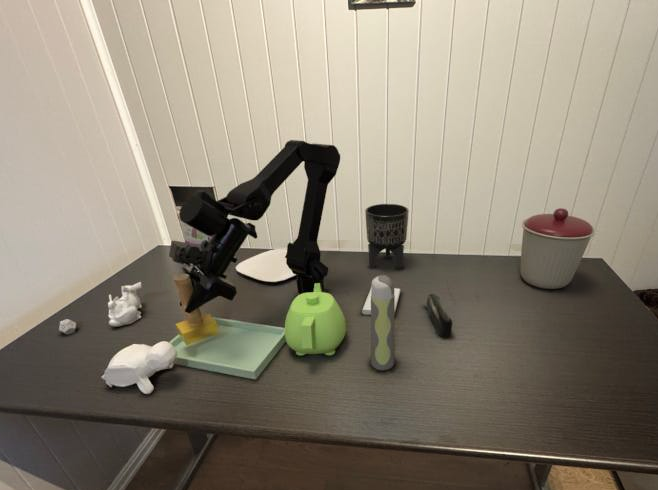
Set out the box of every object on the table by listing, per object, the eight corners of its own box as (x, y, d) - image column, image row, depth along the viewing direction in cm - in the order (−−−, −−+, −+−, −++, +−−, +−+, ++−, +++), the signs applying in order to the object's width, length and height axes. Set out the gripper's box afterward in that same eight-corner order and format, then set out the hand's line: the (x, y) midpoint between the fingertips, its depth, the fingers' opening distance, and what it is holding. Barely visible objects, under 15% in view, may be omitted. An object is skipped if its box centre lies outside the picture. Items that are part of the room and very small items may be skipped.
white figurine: (138, 304, 101) (125, 272, 96) (162, 307, 100) (151, 274, 95) (103, 329, 91) (87, 294, 86) (130, 332, 90) (115, 297, 85)
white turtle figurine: (117, 403, 74) (175, 386, 70) (85, 372, 70) (145, 352, 66) (143, 374, 81) (197, 357, 77) (116, 344, 77) (172, 325, 73)
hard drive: (400, 293, 104) (394, 317, 93) (371, 291, 105) (362, 314, 95) (400, 288, 103) (394, 311, 93) (371, 286, 104) (361, 308, 94)
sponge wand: (211, 323, 85) (195, 267, 78) (219, 333, 82) (203, 275, 75) (179, 335, 82) (159, 277, 74) (186, 345, 78) (166, 286, 71)
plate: (279, 250, 133) (278, 245, 132) (325, 264, 122) (325, 259, 121) (228, 272, 118) (226, 267, 117) (275, 290, 107) (274, 284, 106)
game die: (57, 334, 90) (51, 324, 88) (72, 326, 93) (67, 316, 91) (67, 337, 89) (61, 327, 87) (82, 329, 91) (77, 319, 90)
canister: (591, 284, 106) (615, 210, 95) (553, 303, 98) (575, 224, 87) (535, 263, 119) (551, 196, 108) (497, 278, 111) (510, 207, 100)
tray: (290, 335, 87) (289, 328, 86) (255, 379, 75) (254, 371, 74) (204, 322, 93) (201, 315, 92) (158, 361, 80) (155, 353, 79)
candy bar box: (225, 258, 127) (214, 210, 119) (215, 263, 123) (202, 214, 115) (199, 253, 131) (187, 207, 122) (189, 259, 127) (175, 211, 118)
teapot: (295, 319, 93) (289, 273, 87) (349, 319, 93) (346, 273, 87) (278, 372, 76) (268, 320, 70) (343, 371, 76) (340, 319, 70)
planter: (369, 255, 127) (368, 203, 117) (407, 257, 125) (409, 204, 116) (363, 272, 116) (362, 215, 107) (405, 274, 114) (407, 216, 105)
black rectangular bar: (455, 320, 83) (434, 287, 95) (442, 321, 83) (423, 288, 95) (452, 338, 86) (432, 304, 98) (440, 339, 85) (421, 305, 98)
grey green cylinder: (371, 356, 80) (369, 272, 70) (393, 356, 80) (395, 272, 70) (370, 371, 76) (368, 284, 66) (394, 371, 76) (396, 284, 65)
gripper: (174, 214, 78) (134, 277, 78) (205, 237, 65) (157, 313, 65) (220, 240, 86) (184, 298, 86) (255, 266, 74) (213, 333, 74)
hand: (184, 309), depth 77 cm, fingers closed on sponge wand, 3 cm apart
